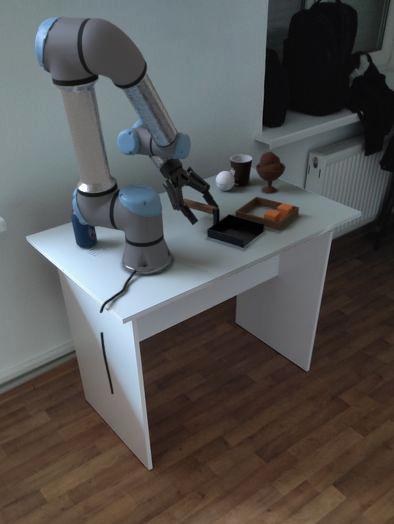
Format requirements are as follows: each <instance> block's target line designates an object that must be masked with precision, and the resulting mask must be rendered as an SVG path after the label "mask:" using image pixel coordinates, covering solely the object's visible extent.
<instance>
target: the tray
mask: <svg viewBox="0 0 394 524" xmlns="http://www.w3.org/2000/svg"><path fill="white" fill-rule="evenodd" d="M282 203H283V202H280V201H276V200H272V199H268V198H264V197H260V196H255V197H253V198H252V199H251V200H249V201H248V202H246V203H245V204H244V205H243V206H240V207H239V208H238V209H237V210H235V216H239V217H242V218H246V219H250V220H253V221H257V222H260V223H264V228H268V229H271V230H275V231H278V232H280V230H282V229H283V228H285V226H286V225H288V224H289V223H290V222H291V221H292V220H294V219H296V217H297V216H299V211H300V207H299V206H296V205H293V211H292V212H291V213H289V214H288V215H287V216H286V217H284V218H283V219H280V222H277V221H273V220H269V219H265V218H264V217H261V216H257V215H255V214H250V213H247V212H248V211H250V210H251V209H253V208H254V207H255V206H259V207H264V208H268V209H270V210H275V211H277V207H278V206H280V205H281V204H282Z"/></svg>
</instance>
